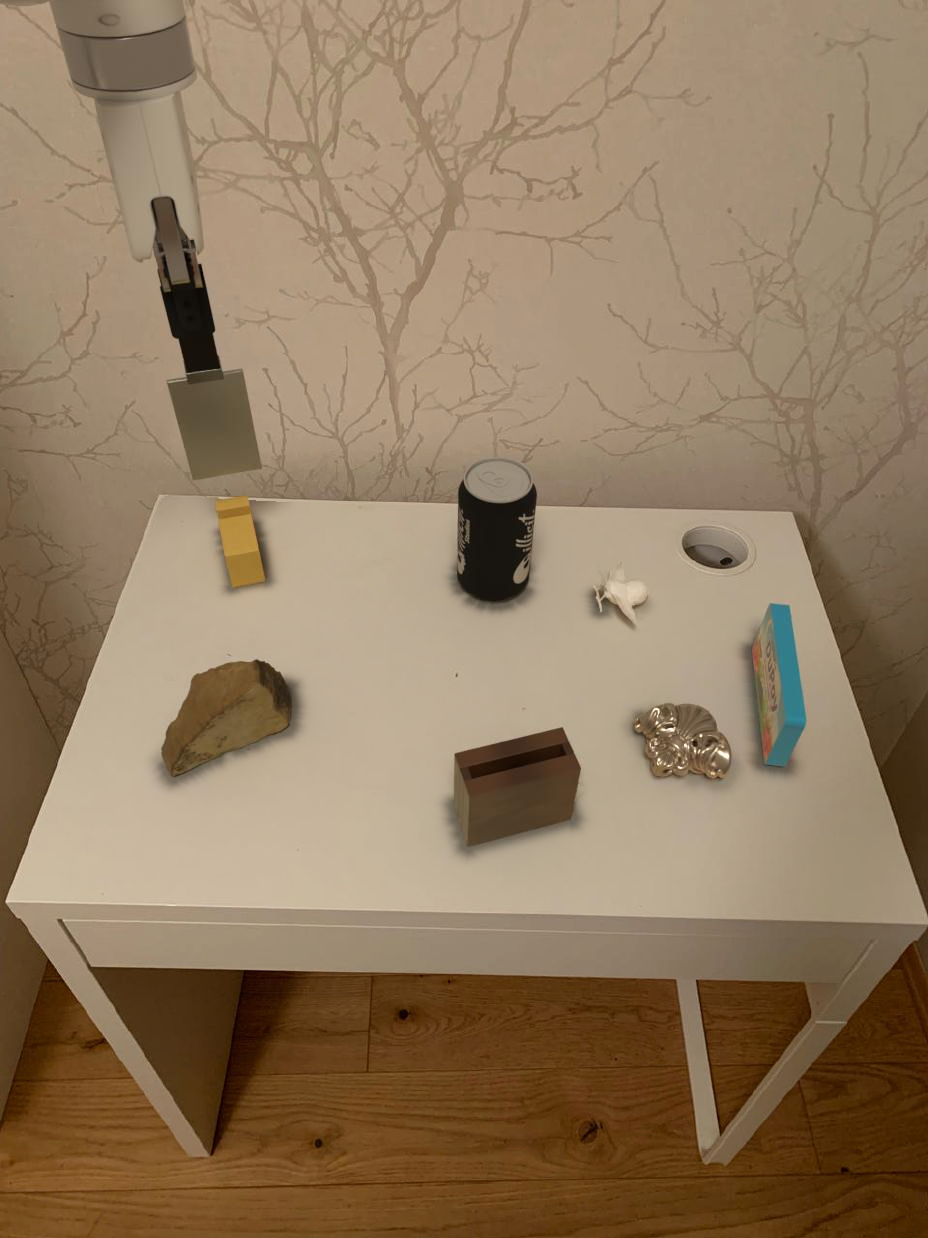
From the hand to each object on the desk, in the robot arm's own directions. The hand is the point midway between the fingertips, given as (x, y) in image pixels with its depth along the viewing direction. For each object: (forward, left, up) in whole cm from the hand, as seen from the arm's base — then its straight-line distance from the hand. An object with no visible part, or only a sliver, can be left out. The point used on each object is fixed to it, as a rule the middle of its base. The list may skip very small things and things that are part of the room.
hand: (192, 324), depth 69 cm
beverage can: (+21, -11, -23) cm, 33 cm away
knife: (0, 0, -15) cm, 15 cm away
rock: (-4, -22, -23) cm, 32 cm away
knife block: (+15, -34, -23) cm, 44 cm away
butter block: (0, -3, -23) cm, 23 cm away
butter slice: (0, +1, -23) cm, 23 cm away
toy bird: (+31, -17, -23) cm, 43 cm away
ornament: (+29, -33, -23) cm, 50 cm away
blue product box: (+39, -31, -23) cm, 55 cm away
